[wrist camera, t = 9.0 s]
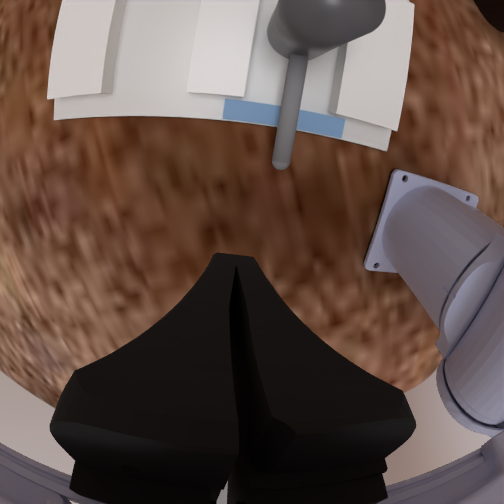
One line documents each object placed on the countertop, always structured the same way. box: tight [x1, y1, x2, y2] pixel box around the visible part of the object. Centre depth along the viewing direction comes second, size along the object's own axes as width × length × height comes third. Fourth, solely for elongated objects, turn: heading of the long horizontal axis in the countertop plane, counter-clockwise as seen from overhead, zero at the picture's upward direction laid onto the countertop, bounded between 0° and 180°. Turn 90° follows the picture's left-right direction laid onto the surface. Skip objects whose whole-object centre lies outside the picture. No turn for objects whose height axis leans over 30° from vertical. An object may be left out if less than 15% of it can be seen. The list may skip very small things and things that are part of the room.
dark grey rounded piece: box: [267, 0, 386, 170], centre depth 11 cm, size 4×10×8 cm, turn 172°
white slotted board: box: [47, 0, 414, 151], centre depth 12 cm, size 22×12×2 cm, turn 82°
